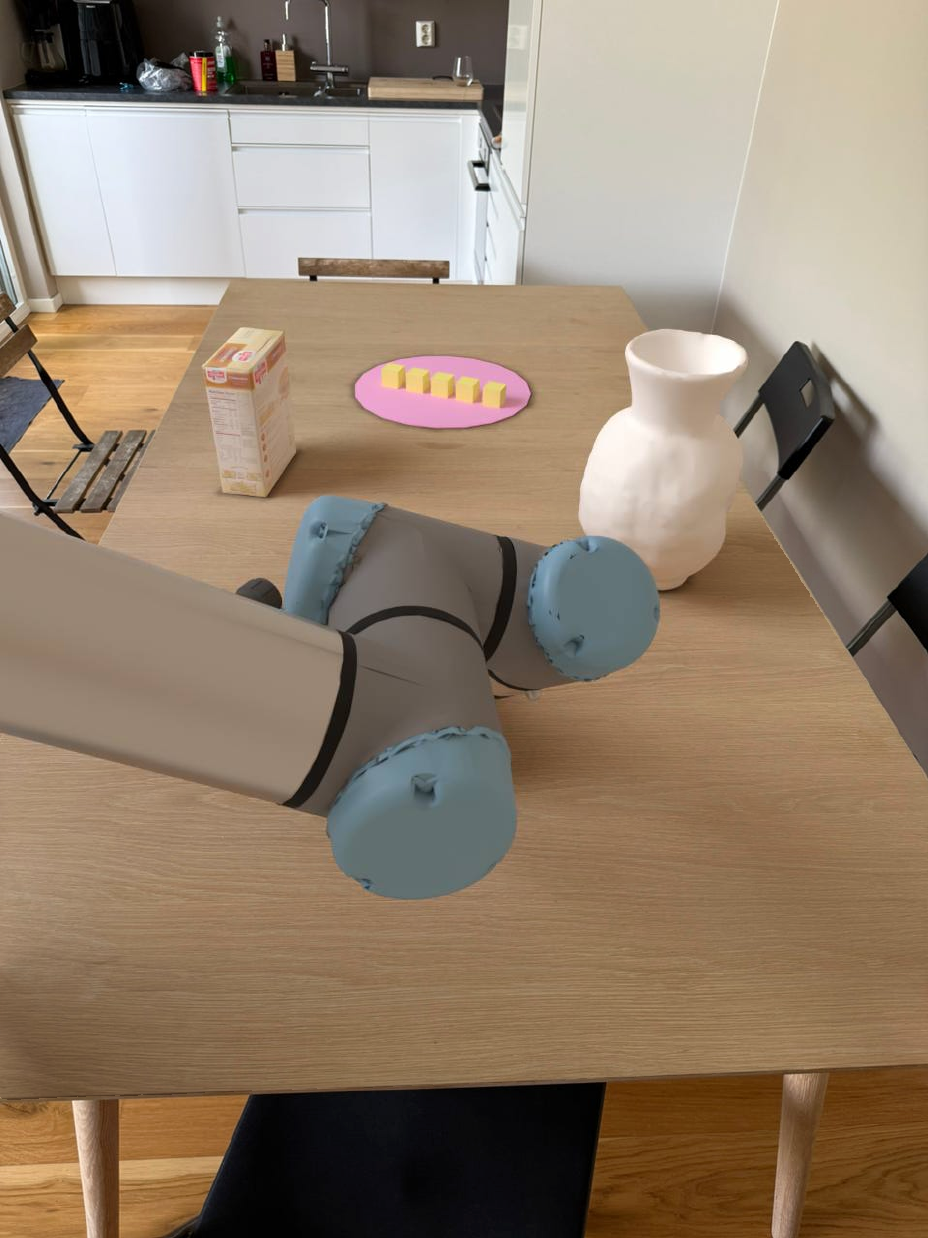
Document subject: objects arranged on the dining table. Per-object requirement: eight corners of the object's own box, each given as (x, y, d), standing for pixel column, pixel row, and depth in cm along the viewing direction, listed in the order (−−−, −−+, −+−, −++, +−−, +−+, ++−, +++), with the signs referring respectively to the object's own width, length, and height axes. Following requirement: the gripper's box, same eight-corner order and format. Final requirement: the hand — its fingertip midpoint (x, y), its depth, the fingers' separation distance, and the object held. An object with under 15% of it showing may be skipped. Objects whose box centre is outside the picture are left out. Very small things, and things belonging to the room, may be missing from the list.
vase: (556, 600, 111) (583, 370, 93) (590, 517, 127) (619, 307, 109) (707, 632, 107) (766, 397, 89) (722, 542, 123) (775, 327, 105)
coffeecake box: (255, 447, 141) (239, 325, 130) (298, 452, 141) (286, 329, 129) (219, 493, 130) (199, 364, 118) (266, 498, 129) (251, 369, 117)
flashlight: (253, 603, 109) (248, 566, 106) (288, 617, 107) (284, 580, 104) (162, 673, 98) (154, 635, 95) (200, 690, 96) (192, 652, 93)
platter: (496, 442, 145) (497, 423, 143) (322, 407, 154) (320, 389, 152) (552, 373, 169) (554, 356, 167) (399, 346, 178) (398, 329, 176)
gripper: (341, 753, 55) (286, 760, 75) (663, 645, 65) (539, 677, 84) (306, 638, 56) (260, 675, 75) (631, 548, 65) (515, 602, 85)
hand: (408, 676), depth 80 cm, fingers open, 13 cm apart
